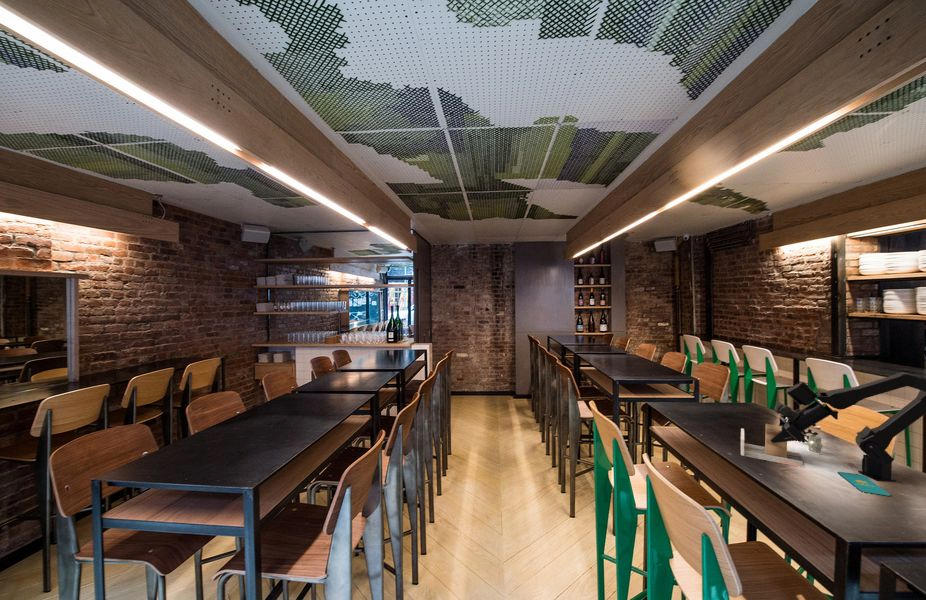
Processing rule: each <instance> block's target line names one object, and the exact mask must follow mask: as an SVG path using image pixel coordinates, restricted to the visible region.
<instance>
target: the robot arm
mask: <svg viewBox="0 0 926 600" xmlns="http://www.w3.org/2000/svg"><path fill="white" fill-rule="evenodd" d="M905 387H910V388H913V389H917V390H919V391H918V393H917V395H916V397H915V398H913V399H912V401H910V402H908V403H907V404H906V405H904V406H903V407H902V408H901V409H900V410H898V411H897V412H896V413H894V414H893V415H892V416H890V417H889V418H887V419H886V420H885V421H883V422H882V423H881V424H880V425H878V426H876V427H873V428H870V427H869V426H868V425H865V427H863V429H862V430H860V431H858V432H856V436H855V438H854V439H855V444H856V445H857V446H858V448H859V449H860V450H861V451H862V452H863V453H864V454H862V459H861V470H858V471H857V472H858V473H859V474H860V475H864V476H865V477H867V478H871V479H872V480H875V481H878V482H882V481H883V482H890V481H891V482H896V481H897V479H896V478H894V477H893V476H892V473H893V472H892V469H893V468H892V467H893V466H892V465H893V462H894V458H893V457H892V455H890V453H888V451H887V449H888V448H889V445H890V444H891V442H892V441H893V439H894V438H895V437H896V436H898V435H899V434H900V433H901V432H903V431H904V430H906V429H908V428H909V426H911V425H913V424H914V423H915V422H917V421H918V420H919V419H920V418H922V417H923V416H925V415H926V378H925V377H921V376H918V375H914V374H909V373H907V372H902V371H900V372H896V373H895V374H893V375H889V376H886V377H883V378H879V379H877V380H873V381H870V382H866V383H863V384H860V385H858V386H853V387H843V388H836V389H830V390H828V391H825V392H824V391H821V392H819V391H814V390H813V389H812V388H811V387H809V386H808V384H807V383H805V382H804V381H801V382H799V383H796V384H794V385H792V386H791V387H788V389H786V391H785V393H786V394H787V395H788V396H789V397H791V400H793V401H794V402H796V404H798V406H800V405H801V406H802V405H803V406H805V407H804V408H802V409H801V408H797V409H796V410H795V409H793V408H792V407H791V406H787V405H786V404H784V403H781V402H779V401H778V402H777V403H776V404H775V406H774V407H773V411H774V412H775V413H777V414H780V415H779V424H778V425H777V426H782V430H781V431H780V432H779V433H778V434H777V435H776V436H775V437H774V438H772V439H771V441H772V442H773V443H777V442H787V443H788V442H798V443H802V441H803V440H805V439H806V436H805V435H804V432H806V430H808V429H810V428H811V427H813V428H815V426H817V424H818V423H819V422H821V421H823V420H824V419H826V418H828V417H830V416H831V417H832V418H834V419H835V420H838V419H839V417H838V415H839V411H838V410H840V411H841V410H845V409H848V408H850V407H853V406H854V405H856V404H858V403H859V402H860V401H863V400H865V399H869V398H870V397H875V396H877V395H882V394H885V393H888V392H891V391H895V390H898V389H902V388H905ZM817 399H818V400H817ZM832 408H833V409H832ZM834 409H836V410H834Z"/></svg>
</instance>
